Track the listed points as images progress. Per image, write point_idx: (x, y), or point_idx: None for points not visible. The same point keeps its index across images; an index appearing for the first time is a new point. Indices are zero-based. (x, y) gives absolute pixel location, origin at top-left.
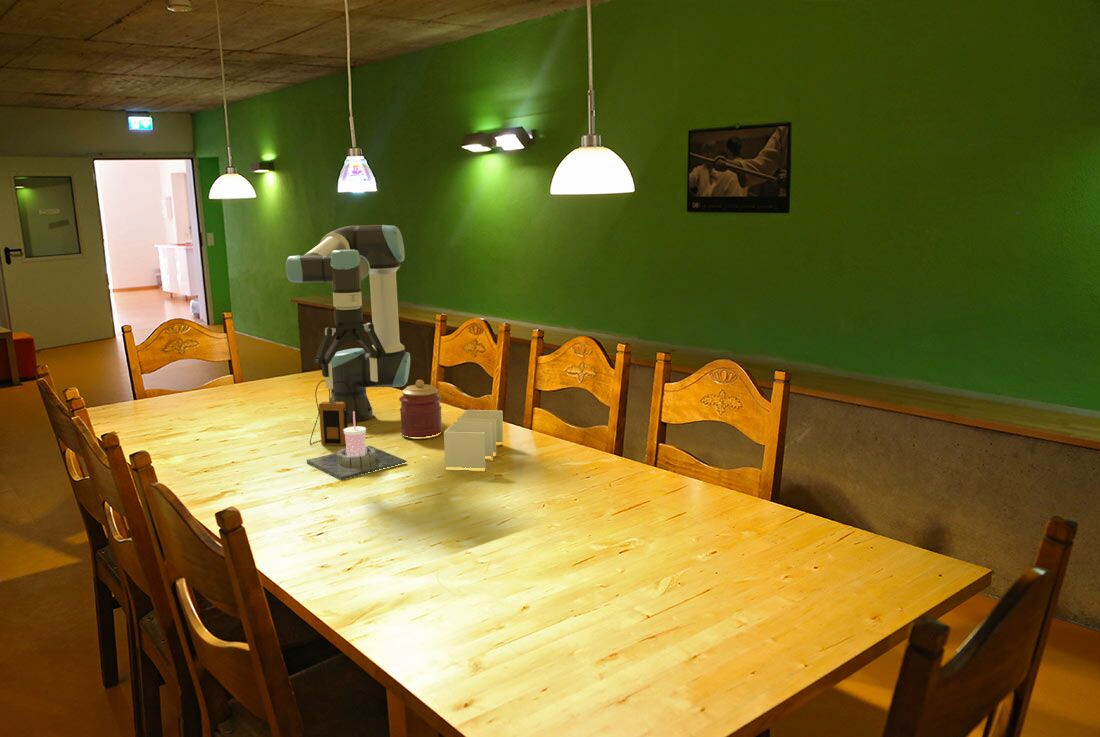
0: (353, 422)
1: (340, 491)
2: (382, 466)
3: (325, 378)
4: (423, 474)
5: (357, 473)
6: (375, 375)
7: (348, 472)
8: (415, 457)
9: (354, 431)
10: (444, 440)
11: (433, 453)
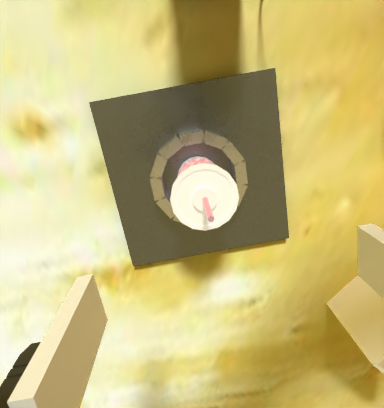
0: (204, 204)
1: (116, 316)
2: (229, 248)
3: (58, 314)
4: (281, 305)
5: (170, 258)
6: (382, 296)
7: (154, 250)
8: (325, 200)
9: (196, 218)
10: (360, 348)
11: (372, 193)
